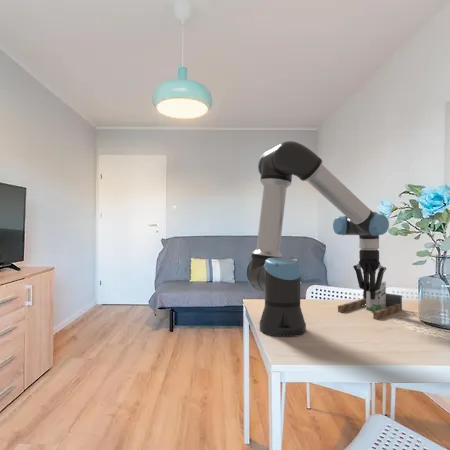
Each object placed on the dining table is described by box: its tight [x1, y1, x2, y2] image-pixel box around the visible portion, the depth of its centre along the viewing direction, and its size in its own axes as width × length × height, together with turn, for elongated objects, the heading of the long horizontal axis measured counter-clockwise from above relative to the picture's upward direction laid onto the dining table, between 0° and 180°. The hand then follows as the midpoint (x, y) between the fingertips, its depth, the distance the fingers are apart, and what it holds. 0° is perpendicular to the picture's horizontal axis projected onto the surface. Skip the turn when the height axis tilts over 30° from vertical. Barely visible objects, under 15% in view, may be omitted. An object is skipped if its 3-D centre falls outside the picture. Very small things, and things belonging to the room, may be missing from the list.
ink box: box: [365, 279, 387, 312], centre depth 142 cm, size 9×5×12 cm, turn 131°
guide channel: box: [337, 290, 403, 320], centre depth 139 cm, size 24×16×6 cm
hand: (369, 306), depth 138 cm, fingers closed
